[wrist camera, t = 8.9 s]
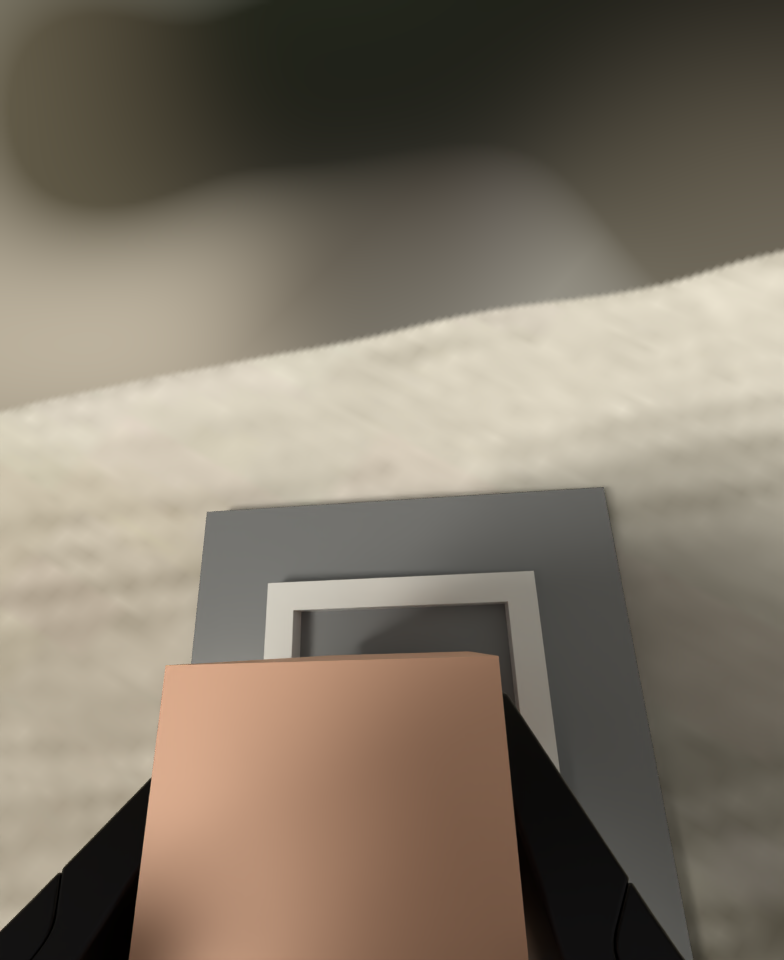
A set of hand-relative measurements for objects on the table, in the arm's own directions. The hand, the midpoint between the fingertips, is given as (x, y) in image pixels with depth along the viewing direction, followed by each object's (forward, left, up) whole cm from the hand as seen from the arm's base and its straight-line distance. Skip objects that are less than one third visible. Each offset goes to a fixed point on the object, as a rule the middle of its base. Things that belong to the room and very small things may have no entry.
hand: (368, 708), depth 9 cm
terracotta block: (-1, +1, -7) cm, 7 cm away
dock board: (-1, +1, -9) cm, 9 cm away
